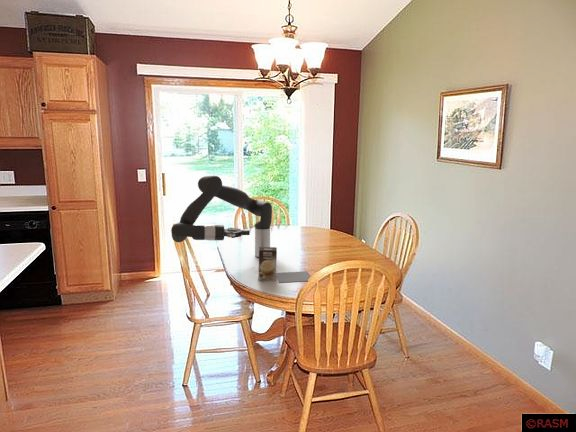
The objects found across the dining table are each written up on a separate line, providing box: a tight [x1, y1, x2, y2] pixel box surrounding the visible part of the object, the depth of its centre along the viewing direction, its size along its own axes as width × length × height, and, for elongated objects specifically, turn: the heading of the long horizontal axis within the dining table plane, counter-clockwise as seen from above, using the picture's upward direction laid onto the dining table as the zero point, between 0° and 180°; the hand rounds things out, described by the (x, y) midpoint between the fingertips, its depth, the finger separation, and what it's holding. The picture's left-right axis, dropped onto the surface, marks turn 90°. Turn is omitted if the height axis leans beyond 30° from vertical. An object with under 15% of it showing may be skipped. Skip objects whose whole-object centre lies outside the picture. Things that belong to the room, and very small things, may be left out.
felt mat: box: [276, 270, 312, 284], centre depth 214 cm, size 14×18×1 cm
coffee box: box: [258, 246, 278, 282], centre depth 210 cm, size 9×6×16 cm
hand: (249, 232), depth 204 cm, fingers closed
